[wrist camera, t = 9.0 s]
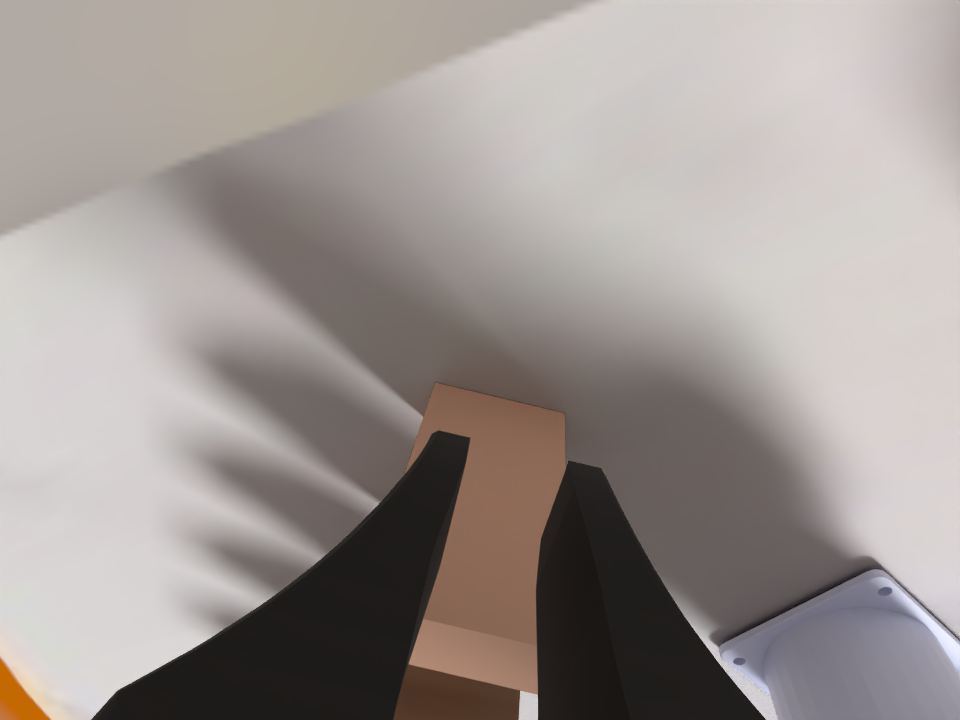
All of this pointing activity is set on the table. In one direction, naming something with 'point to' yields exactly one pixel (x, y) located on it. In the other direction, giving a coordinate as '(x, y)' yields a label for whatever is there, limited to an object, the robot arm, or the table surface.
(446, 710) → the walnut tile
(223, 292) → the table surface
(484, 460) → the terracotta tile
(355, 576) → the robot arm
